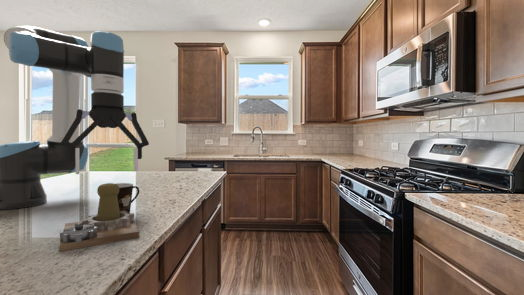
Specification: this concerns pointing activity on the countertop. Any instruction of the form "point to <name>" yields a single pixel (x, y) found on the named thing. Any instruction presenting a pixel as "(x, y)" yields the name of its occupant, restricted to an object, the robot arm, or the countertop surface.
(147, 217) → the countertop surface
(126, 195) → the coffee mug
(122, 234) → the gear board
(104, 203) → the cork
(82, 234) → the gear
